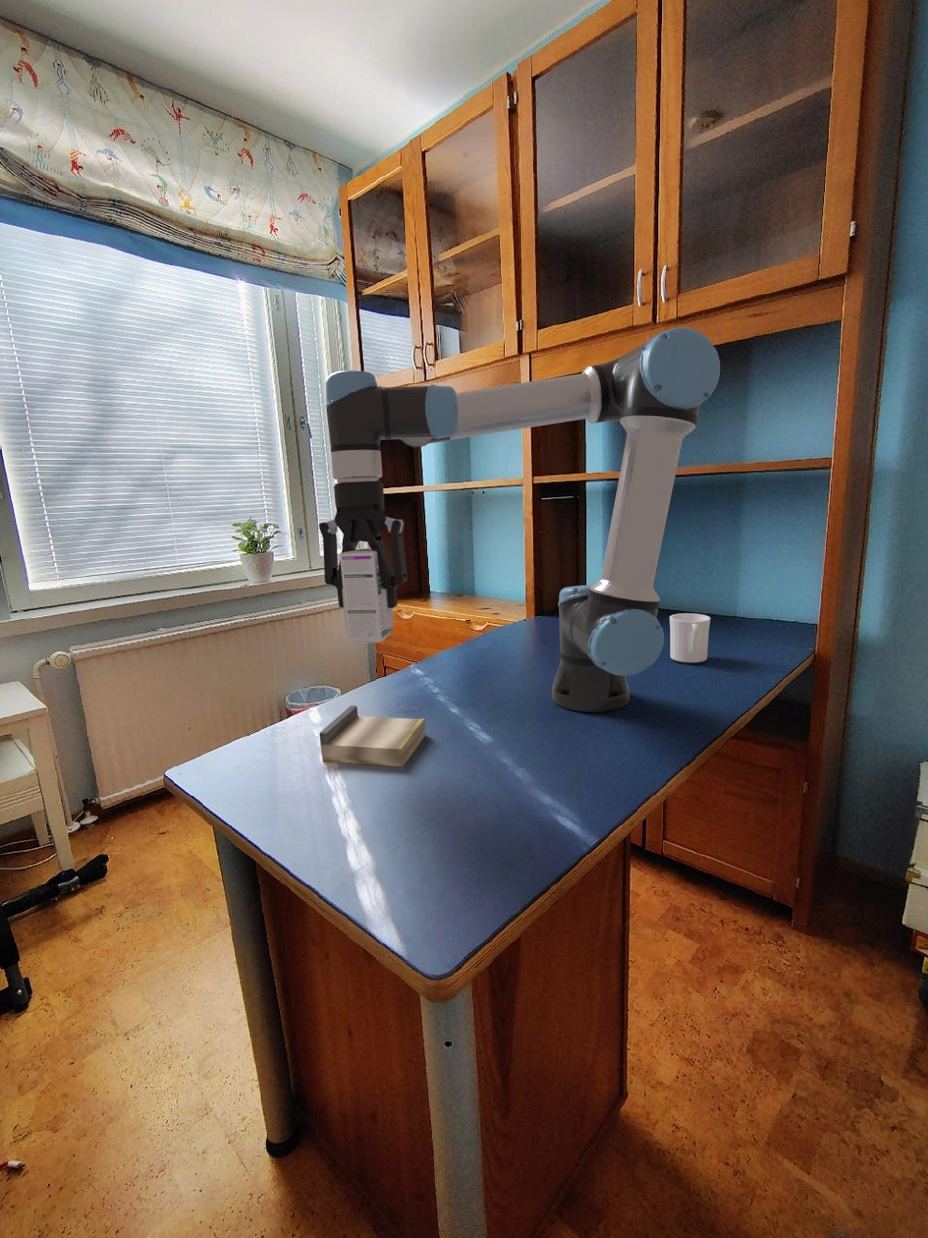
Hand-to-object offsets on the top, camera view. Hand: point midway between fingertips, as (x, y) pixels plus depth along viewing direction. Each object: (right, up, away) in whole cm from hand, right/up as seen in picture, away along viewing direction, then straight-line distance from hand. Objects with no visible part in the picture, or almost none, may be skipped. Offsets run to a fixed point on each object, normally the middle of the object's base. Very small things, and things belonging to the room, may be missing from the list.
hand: (369, 626), depth 93 cm
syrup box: (0, -2, 0) cm, 2 cm away
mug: (+68, -9, +42) cm, 81 cm away
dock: (0, -21, +5) cm, 21 cm away
